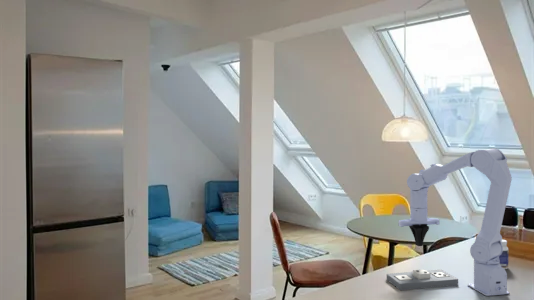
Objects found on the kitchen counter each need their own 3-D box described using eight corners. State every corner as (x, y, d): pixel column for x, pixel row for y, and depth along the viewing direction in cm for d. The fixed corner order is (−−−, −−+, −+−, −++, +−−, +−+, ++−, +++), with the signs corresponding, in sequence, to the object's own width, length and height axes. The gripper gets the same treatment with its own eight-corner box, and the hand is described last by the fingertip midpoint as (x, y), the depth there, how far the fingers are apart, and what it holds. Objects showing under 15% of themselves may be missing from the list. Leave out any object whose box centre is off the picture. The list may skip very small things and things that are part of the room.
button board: (458, 285, 144) (458, 279, 144) (400, 290, 141) (400, 283, 141) (441, 275, 154) (441, 269, 154) (386, 279, 150) (386, 273, 150)
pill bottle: (511, 269, 158) (511, 242, 157) (495, 270, 158) (495, 242, 157) (503, 264, 163) (503, 238, 163) (487, 265, 164) (487, 238, 163)
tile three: (448, 281, 147) (448, 275, 146) (437, 282, 146) (437, 276, 146) (442, 277, 150) (442, 271, 150) (431, 278, 150) (431, 272, 150)
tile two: (430, 279, 145) (430, 272, 145) (418, 280, 145) (418, 273, 145) (424, 275, 149) (424, 268, 149) (413, 276, 149) (412, 269, 149)
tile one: (411, 284, 144) (411, 278, 144) (400, 285, 144) (400, 279, 144) (406, 280, 148) (405, 274, 148) (394, 281, 148) (394, 275, 148)
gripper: (432, 204, 162) (432, 241, 162) (394, 206, 159) (394, 243, 160) (442, 207, 155) (442, 246, 155) (403, 209, 152) (403, 249, 153)
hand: (419, 245), depth 157 cm, fingers closed
